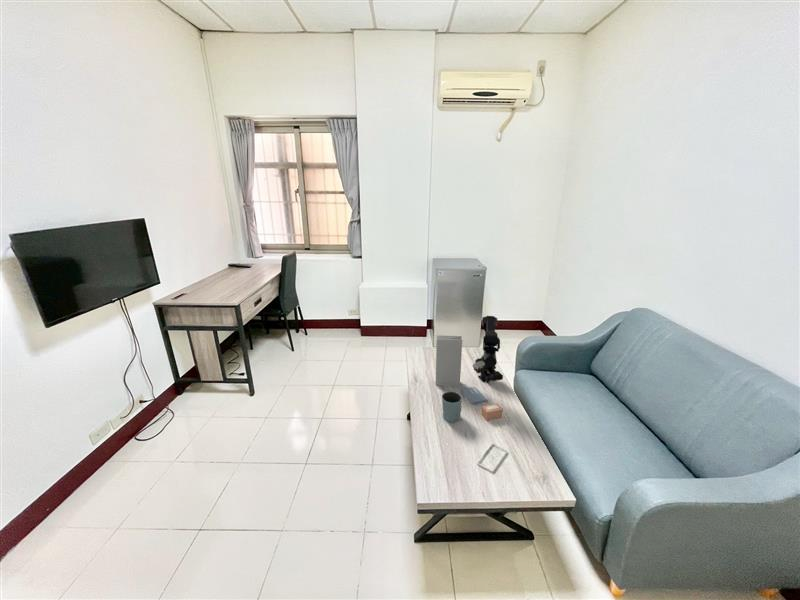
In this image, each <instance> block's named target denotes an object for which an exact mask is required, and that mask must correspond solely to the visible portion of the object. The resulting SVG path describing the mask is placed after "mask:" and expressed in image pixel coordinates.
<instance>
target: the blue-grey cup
mask: <svg viewBox="0 0 800 600" xmlns="http://www.w3.org/2000/svg"><path fill="white" fill-rule="evenodd" d="M462 402H463V396H462V395H461V393H459V392H457V391H453V390H451V391H445V392H444V393H442V395H441V404H442V417H443V419H444V421H446V422H448V423H457V422H459V421H460V419H461V412H462V404H463V403H462Z"/></svg>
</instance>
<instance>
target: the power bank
mask: <svg viewBox="0 0 800 600" xmlns="http://www.w3.org/2000/svg"><path fill="white" fill-rule="evenodd" d="M492 446H494V447H495V446H496V447H498V448H500V449H502V450H504V451H505V453H504V454H503V455H502V456H501V458H500V460H499V461H497V462H498V463H497V464H496V465H495V467H494V468H493V469H490V468H488V467H486V466H484V465H483V464H481V463H480V460H481V459H482V458H483V457H485V455H486V453H487V452H488V451H489V450H490V449H491V447H492ZM507 453H508V450H507V449H506V448H503V447H501V446H500V445H497V444H495V443H494V442H492V443H491V444H490V445H489V446H488V447H487V449H486V450H485V451H484V452H483V454H482V455H481V457H479V459H478V460H477V462H476V465H477V466H479V467H481V468H482V469H484V470H486V471H487V472H489V473H491V474H492V473H494V472H495V471H496V469H497V468H498V466H499V465H500V463H501V462H502V461H503V460H504V458H505V456H506V455H507Z"/></svg>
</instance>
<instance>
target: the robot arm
mask: <svg viewBox="0 0 800 600" xmlns="http://www.w3.org/2000/svg"><path fill="white" fill-rule="evenodd" d="M481 325H482V327H483V330H484V336H483V337H482V351H483V354H482V356H481V357H479V358H477V359H475V361H474V362H475V363H473V364H472V367H473V370H474V371H475V372H476V374H480V375H478V376H477V377H478V378H479V380H480V381H482V383H484V382H486V384H489V383H490V382H496V381H501V380H502V381H503V379H504V375H503V374H502V373H501V372H500V371H499V370H496V369H497V363H498V361H497V355H496V353H497V352H498V353H499V351H500V348H501V339H500V337H499V336H498V333H497V332H496V327H497V326H498V317H496V316H494V315H486V316H483V317H482V318H481Z"/></svg>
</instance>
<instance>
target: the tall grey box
mask: <svg viewBox="0 0 800 600" xmlns="http://www.w3.org/2000/svg"><path fill="white" fill-rule="evenodd" d="M462 351H463V339H462V335H443V334H442V335H440V334H439V335H438V334H436V356H435V359H436V360H435V386H438V387H439V386H441V387H442V386H443V387H444V386H445V387H461V369H462V355H463V354H462V353H463V352H462Z"/></svg>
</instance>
